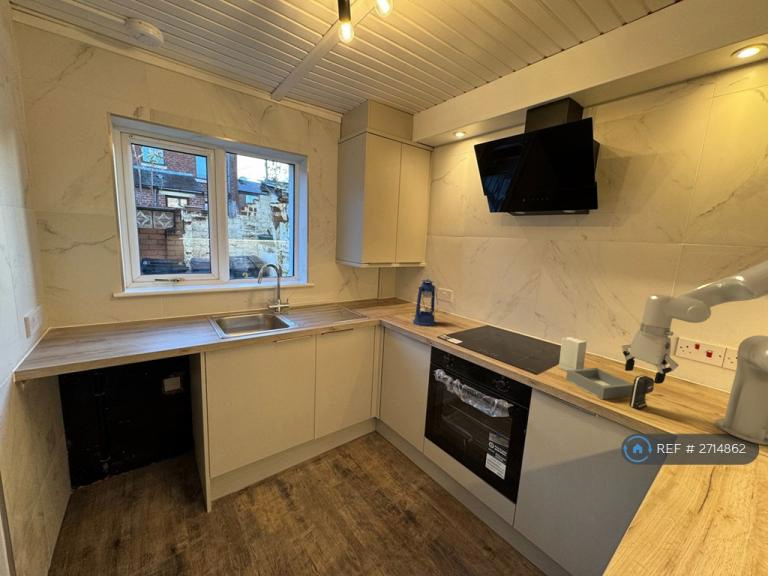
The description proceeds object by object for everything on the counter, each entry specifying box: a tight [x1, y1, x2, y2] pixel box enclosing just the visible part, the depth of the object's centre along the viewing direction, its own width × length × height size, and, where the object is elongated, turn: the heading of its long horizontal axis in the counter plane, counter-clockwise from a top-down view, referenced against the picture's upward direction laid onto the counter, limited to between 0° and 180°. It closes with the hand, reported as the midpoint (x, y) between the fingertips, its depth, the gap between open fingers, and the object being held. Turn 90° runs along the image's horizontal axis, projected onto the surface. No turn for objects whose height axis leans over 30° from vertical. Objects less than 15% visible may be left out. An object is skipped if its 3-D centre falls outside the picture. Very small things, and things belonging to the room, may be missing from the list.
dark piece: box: [629, 374, 655, 410], centre depth 109 cm, size 7×4×11 cm, turn 117°
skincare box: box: [558, 336, 588, 372], centre depth 139 cm, size 8×6×15 cm
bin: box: [565, 367, 634, 400], centre depth 124 cm, size 16×16×4 cm
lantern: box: [412, 279, 439, 327], centre depth 205 cm, size 17×15×30 cm
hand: (642, 376), depth 109 cm, fingers open, 9 cm apart
